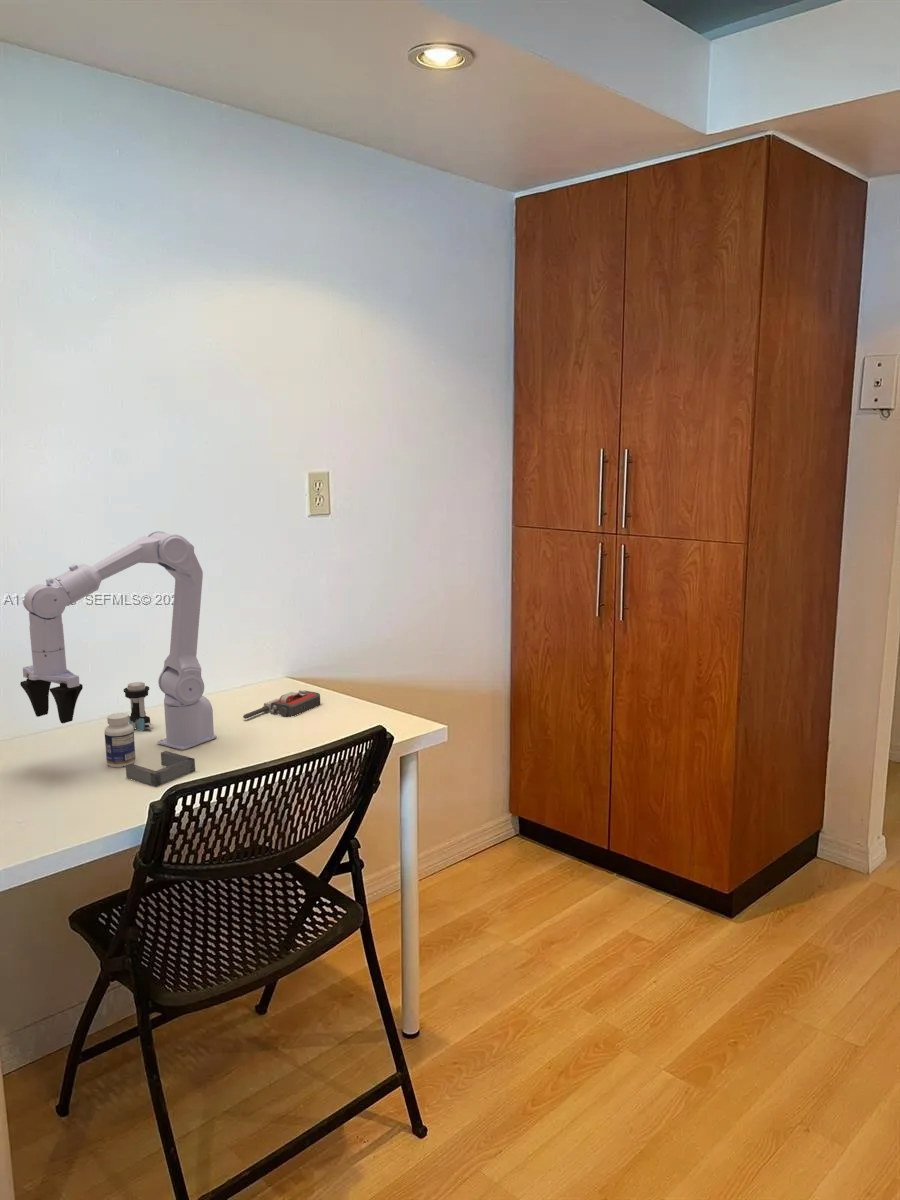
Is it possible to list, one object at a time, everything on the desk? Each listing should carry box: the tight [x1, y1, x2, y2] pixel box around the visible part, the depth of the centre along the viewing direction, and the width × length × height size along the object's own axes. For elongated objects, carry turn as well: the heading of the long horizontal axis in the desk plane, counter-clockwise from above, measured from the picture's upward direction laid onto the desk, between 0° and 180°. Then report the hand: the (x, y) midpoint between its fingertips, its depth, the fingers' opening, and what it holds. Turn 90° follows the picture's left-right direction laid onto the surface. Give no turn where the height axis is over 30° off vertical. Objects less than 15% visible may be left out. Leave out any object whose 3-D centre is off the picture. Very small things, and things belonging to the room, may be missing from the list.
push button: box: [123, 681, 153, 731], centre depth 196 cm, size 7×5×10 cm
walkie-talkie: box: [242, 689, 321, 720], centre depth 209 cm, size 9×4×20 cm
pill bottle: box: [104, 712, 136, 768], centre depth 176 cm, size 5×5×10 cm
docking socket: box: [125, 750, 196, 788], centre depth 170 cm, size 9×8×2 cm
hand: (54, 718), depth 171 cm, fingers open, 7 cm apart
